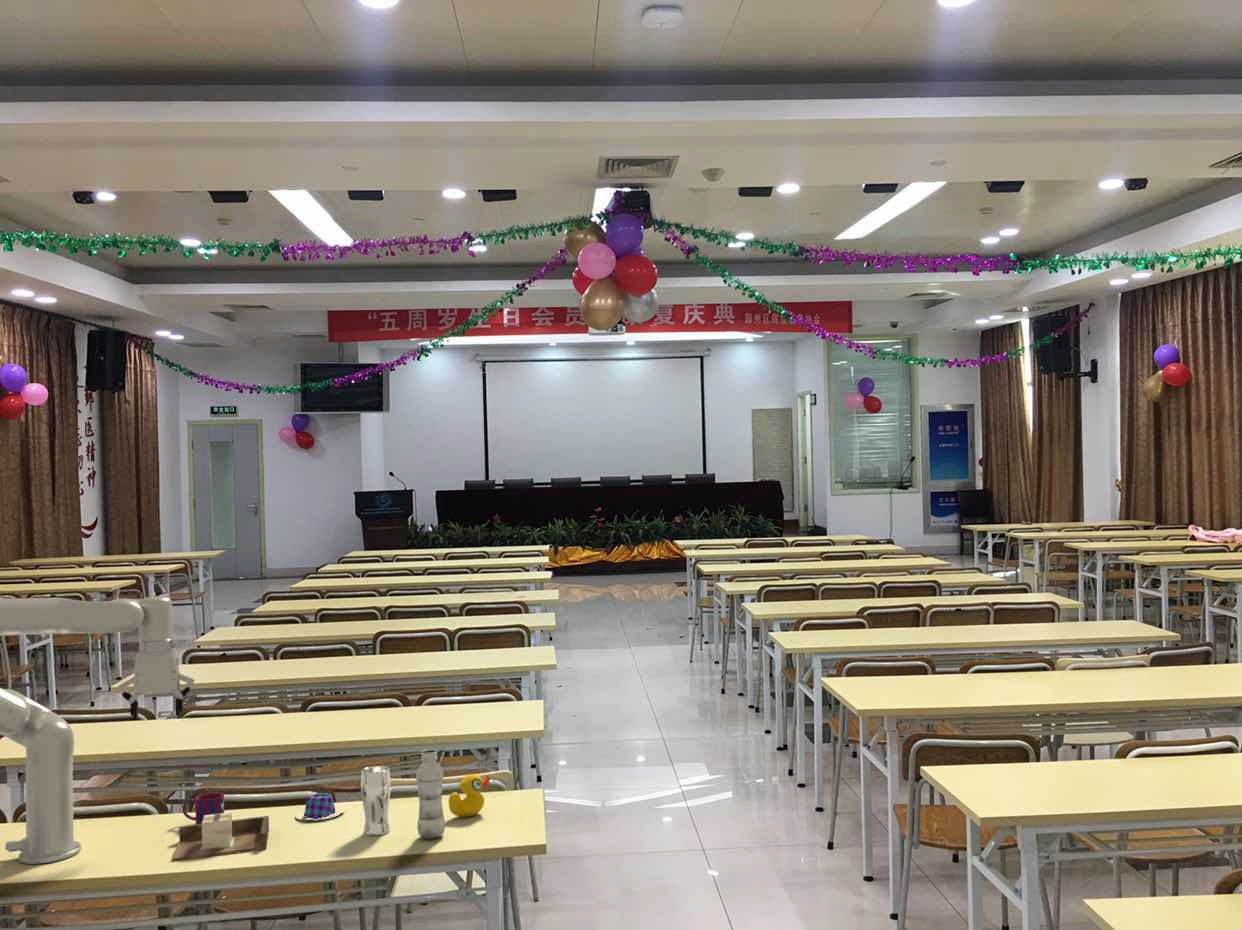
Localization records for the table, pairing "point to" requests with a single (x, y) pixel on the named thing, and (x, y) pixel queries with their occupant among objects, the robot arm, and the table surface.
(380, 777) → the beer glass
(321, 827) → the table surface
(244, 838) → the wooden tray
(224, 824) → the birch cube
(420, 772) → the plastic bottle
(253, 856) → the table surface
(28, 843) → the robot arm
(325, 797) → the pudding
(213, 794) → the mug
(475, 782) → the duckling
